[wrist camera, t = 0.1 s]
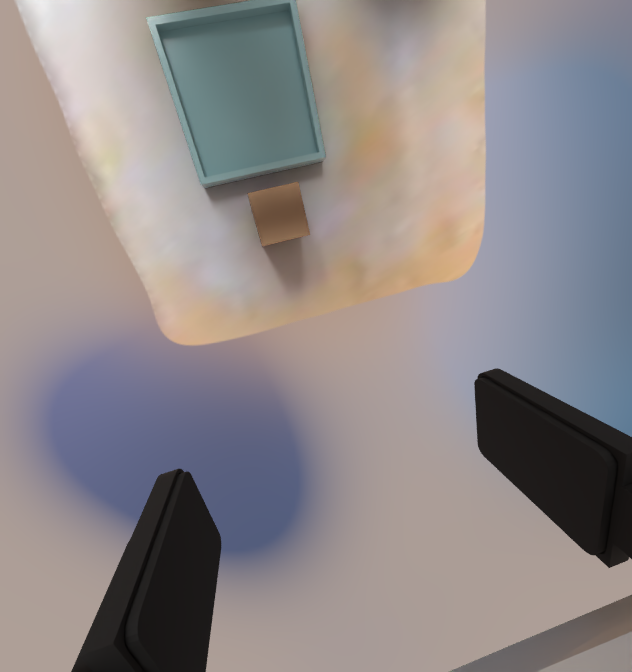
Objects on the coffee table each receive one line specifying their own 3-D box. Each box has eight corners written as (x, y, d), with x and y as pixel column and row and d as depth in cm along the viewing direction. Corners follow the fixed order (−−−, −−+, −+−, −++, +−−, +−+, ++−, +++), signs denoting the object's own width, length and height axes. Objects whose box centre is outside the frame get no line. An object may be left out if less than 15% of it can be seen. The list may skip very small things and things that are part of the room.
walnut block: (249, 202, 35) (247, 193, 28) (290, 193, 35) (298, 181, 28) (262, 245, 36) (262, 246, 30) (300, 236, 37) (310, 234, 30)
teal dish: (153, 32, 29) (145, 17, 27) (292, 9, 30) (294, -7, 28) (204, 188, 33) (200, 184, 31) (322, 161, 35) (325, 156, 33)
